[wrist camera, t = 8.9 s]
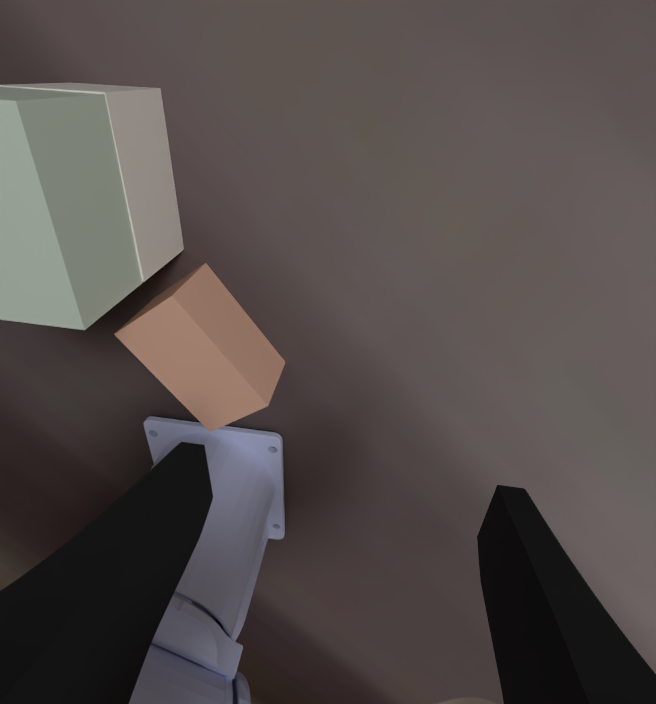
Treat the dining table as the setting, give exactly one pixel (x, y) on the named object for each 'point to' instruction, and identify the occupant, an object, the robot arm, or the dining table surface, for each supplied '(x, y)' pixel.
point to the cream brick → (140, 168)
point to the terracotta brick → (205, 350)
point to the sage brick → (61, 210)
